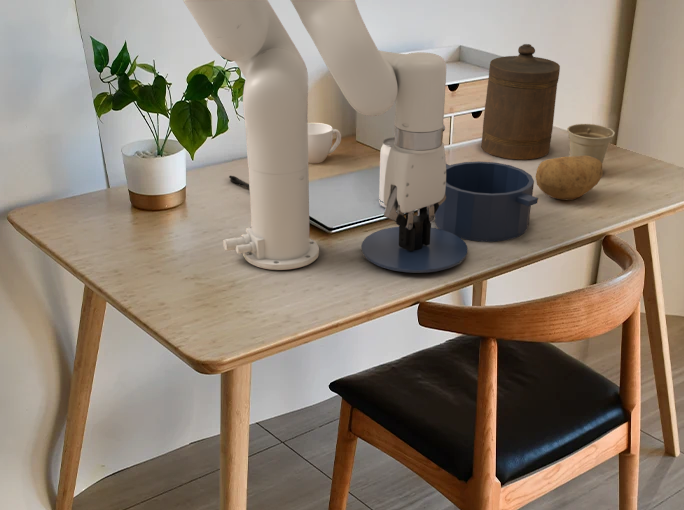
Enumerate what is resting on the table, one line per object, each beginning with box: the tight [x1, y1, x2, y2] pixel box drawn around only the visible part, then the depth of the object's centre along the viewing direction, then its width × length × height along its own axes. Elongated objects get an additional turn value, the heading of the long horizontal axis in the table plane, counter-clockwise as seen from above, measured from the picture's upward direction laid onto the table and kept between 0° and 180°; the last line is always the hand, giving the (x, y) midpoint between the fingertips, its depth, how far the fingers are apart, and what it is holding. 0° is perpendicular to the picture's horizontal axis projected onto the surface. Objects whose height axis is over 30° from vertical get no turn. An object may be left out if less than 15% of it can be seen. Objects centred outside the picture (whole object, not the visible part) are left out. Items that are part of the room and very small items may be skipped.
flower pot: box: [566, 123, 616, 165], centre depth 187 cm, size 9×9×9 cm
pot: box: [434, 160, 539, 243], centre depth 164 cm, size 17×22×8 cm
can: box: [378, 136, 395, 209], centre depth 170 cm, size 6×6×12 cm
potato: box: [535, 155, 604, 201], centre depth 175 cm, size 10×14×8 cm
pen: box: [228, 175, 250, 191], centre depth 178 cm, size 14×2×1 cm, turn 38°
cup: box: [308, 122, 342, 164], centre depth 192 cm, size 8×10×7 cm
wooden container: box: [480, 43, 561, 161], centre depth 195 cm, size 15×15×22 cm
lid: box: [360, 215, 469, 274], centre depth 152 cm, size 18×18×6 cm
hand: (414, 244), depth 153 cm, fingers closed on lid, 2 cm apart
